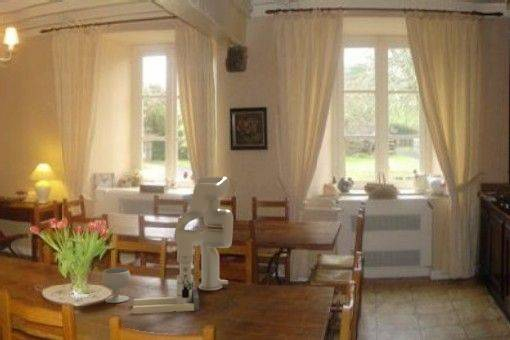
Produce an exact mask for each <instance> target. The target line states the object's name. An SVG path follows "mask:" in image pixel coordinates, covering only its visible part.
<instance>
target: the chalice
mask: <svg viewBox="0 0 510 340" xmlns="http://www.w3.org/2000/svg"><path fill="white" fill-rule="evenodd" d="M131 278H132V277H131V273H130V270H129V269H128V268H126V267H110V268H107V269H105V270H104V271H103V272H102V277H101V283H102V284H103V286H105V287H107V288H108V289H111V290H112V291H113V292H114V295H111V296H110V295H109V296H108V297H109V298H107V297H106V298H107V299H106V300H105V301H104V302H105V303H108V304H119V303H125V302H128V301H129V300H130V297H129V296H127V295H123V294H122V295H120V294H119V292H120V291H121V290H122V289H123V288H124V287H126V286H128V284H130V282H131Z"/></svg>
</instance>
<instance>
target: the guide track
mask: <svg viewBox="0 0 510 340" xmlns="http://www.w3.org/2000/svg"><path fill="white" fill-rule="evenodd" d="M176 298H177V296H168V297H165V296H164V297H145V298H134V299H133V306H132V314H137V315H138V314H152V313H153V314H154V313H155V314H156V313H171V312H172V313H173V311H176V312H189V311H199V310H200V296H199V293H198V289H193V303H184V304H176Z"/></svg>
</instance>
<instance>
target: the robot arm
mask: <svg viewBox="0 0 510 340" xmlns="http://www.w3.org/2000/svg"><path fill="white" fill-rule="evenodd" d="M230 187H231V181H230V179H229V177H227V176H219V175H218V176H217V175H216V176H215V175H205V176H200V177H199V178H198V180H197V184H196V185H195V186H194V189H193V191H192V197H191V200H190V204H189V205H190V206H189V209H188V210H187V211H186V212H184V214H183V215H181V216H180V217H179V219H178V220H177V223H176V226H175V230H174V233H173V237H174V238H173V240H174V242H175V244H176V252H177V253H176V257H177V258H176V262H177V263H178V264H179V275H180V279H181V283H182V284H183V289H182V298H189V289H188V282H189V283H190V284H191V274H192V263H193V262H194V247H197V246H200V253H201V258H200V259H201V260H200V261H201V265H200V266H201V283H200V284H199V285H198V289H199V290H202V291H207V292H208V291H209V292H210V291H218V290H221V289H222V288H223V285H228V284H229V280H226V279H221V278H220V254H219V251H218V250H217V248H219V249H228V248H230V247H231V246H232V243H233V235H234V234H233V231H234V215H233V213H232V210H229V209H222V208H221V199H222V198H223V197H224V196H225V195H226V194H227V193H228V192H229V190H230ZM201 217H203V224H204V225H205V226H207V227H210V228H206V229H203V230H201V231H200V230H196V229H185V228H186V226H187V225H188V224H189V223H191V222H192V221H194V220H197V219H199V218H201ZM211 227H214V228H213V229H212V228H211ZM215 228H221V229H215ZM183 282H184V283H183Z"/></svg>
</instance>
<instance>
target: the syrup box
mask: <svg viewBox="0 0 510 340" xmlns="http://www.w3.org/2000/svg"><path fill="white" fill-rule="evenodd" d="M183 283H184V282H183ZM182 289H183V284H182V283H181V279H180V274H177V275H176V297H177V298H176V304H184V303H193V290H194V274H192V273H191V284H190V283H189V282H188V289H189V298H182Z"/></svg>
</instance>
